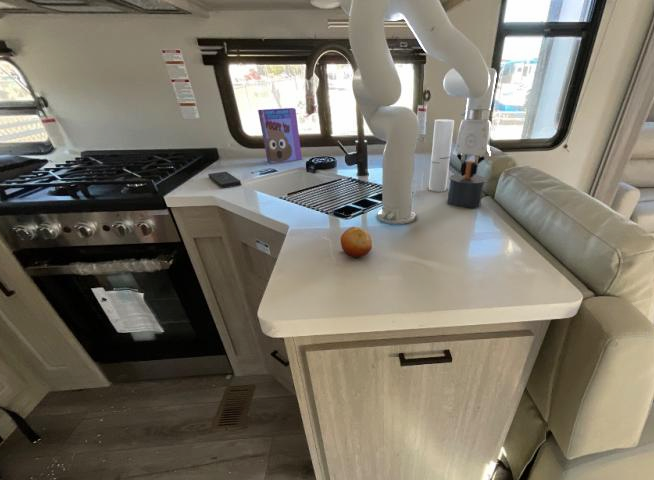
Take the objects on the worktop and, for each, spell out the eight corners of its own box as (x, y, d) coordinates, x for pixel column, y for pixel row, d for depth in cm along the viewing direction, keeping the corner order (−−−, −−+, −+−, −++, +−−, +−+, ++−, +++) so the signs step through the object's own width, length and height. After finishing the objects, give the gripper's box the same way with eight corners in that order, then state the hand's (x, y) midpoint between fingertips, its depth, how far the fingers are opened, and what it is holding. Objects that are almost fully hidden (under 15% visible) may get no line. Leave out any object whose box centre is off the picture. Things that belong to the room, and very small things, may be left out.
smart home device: (226, 170, 147) (241, 180, 134) (227, 174, 148) (242, 184, 135) (207, 173, 143) (220, 184, 130) (208, 177, 144) (221, 188, 131)
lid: (480, 188, 107) (483, 167, 104) (444, 183, 112) (446, 163, 109) (489, 179, 117) (493, 160, 113) (455, 175, 121) (458, 156, 118)
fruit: (350, 238, 90) (360, 218, 84) (369, 258, 89) (380, 240, 82) (329, 248, 85) (338, 227, 78) (348, 270, 83) (359, 250, 77)
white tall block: (447, 191, 130) (455, 121, 116) (429, 191, 131) (435, 121, 116) (444, 186, 136) (452, 119, 122) (427, 186, 136) (433, 119, 122)
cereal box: (271, 164, 166) (261, 110, 152) (267, 162, 169) (257, 109, 155) (301, 159, 176) (295, 108, 162) (297, 157, 179) (291, 107, 165)
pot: (474, 211, 113) (479, 186, 108) (443, 205, 117) (445, 181, 112) (483, 201, 121) (487, 178, 116) (453, 196, 125) (456, 174, 120)
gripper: (448, 115, 103) (442, 174, 114) (500, 118, 97) (488, 181, 107) (456, 113, 108) (449, 170, 119) (505, 116, 102) (494, 176, 113)
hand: (468, 175), depth 113 cm, fingers closed on lid, 2 cm apart
